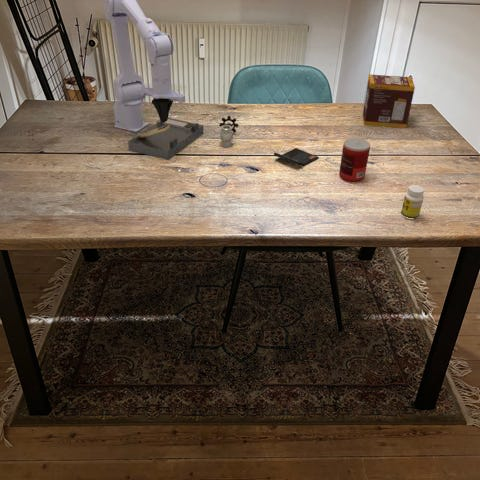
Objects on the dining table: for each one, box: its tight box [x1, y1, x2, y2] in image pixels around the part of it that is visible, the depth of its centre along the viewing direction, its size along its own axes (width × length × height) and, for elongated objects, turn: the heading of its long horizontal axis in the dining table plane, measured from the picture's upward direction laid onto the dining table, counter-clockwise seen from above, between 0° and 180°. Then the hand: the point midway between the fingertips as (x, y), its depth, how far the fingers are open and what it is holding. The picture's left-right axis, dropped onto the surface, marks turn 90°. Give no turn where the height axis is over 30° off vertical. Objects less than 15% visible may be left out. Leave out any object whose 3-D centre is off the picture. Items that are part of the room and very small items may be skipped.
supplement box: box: [362, 73, 416, 129], centre depth 193 cm, size 10×15×16 cm
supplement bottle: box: [400, 184, 425, 219], centre depth 141 cm, size 5×5×8 cm
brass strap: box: [137, 124, 170, 138], centre depth 169 cm, size 12×3×1 cm, turn 65°
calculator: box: [273, 147, 320, 168], centre depth 169 cm, size 9×12×3 cm
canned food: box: [338, 137, 371, 183], centre depth 158 cm, size 8×8×11 cm
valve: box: [218, 115, 239, 148], centre depth 178 cm, size 7×7×12 cm
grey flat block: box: [127, 117, 204, 161], centre depth 177 cm, size 15×23×5 cm, turn 155°
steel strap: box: [161, 119, 194, 131], centre depth 181 cm, size 12×3×1 cm, turn 65°
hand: (164, 120), depth 166 cm, fingers closed
